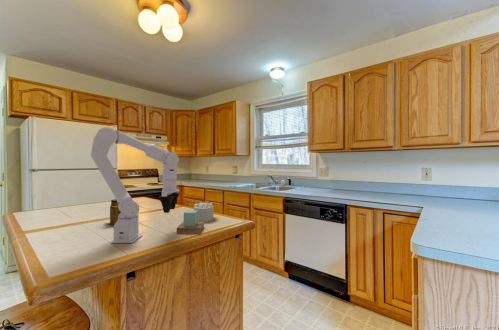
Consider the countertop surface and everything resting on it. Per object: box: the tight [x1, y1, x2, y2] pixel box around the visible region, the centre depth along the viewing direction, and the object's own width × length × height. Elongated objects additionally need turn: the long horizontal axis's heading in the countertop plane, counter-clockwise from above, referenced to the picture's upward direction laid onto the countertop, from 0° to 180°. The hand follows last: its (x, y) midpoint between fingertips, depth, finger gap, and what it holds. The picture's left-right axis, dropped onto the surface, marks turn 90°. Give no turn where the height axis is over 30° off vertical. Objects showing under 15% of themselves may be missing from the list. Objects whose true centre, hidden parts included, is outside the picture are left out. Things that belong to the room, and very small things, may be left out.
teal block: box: [183, 210, 198, 226], centre depth 107 cm, size 5×5×6 cm
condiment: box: [103, 198, 121, 228], centre depth 116 cm, size 7×8×12 cm
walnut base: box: [176, 221, 205, 235], centre depth 107 cm, size 10×10×3 cm
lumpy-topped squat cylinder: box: [193, 202, 214, 223], centre depth 127 cm, size 10×13×9 cm
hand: (169, 210), depth 104 cm, fingers open, 7 cm apart
